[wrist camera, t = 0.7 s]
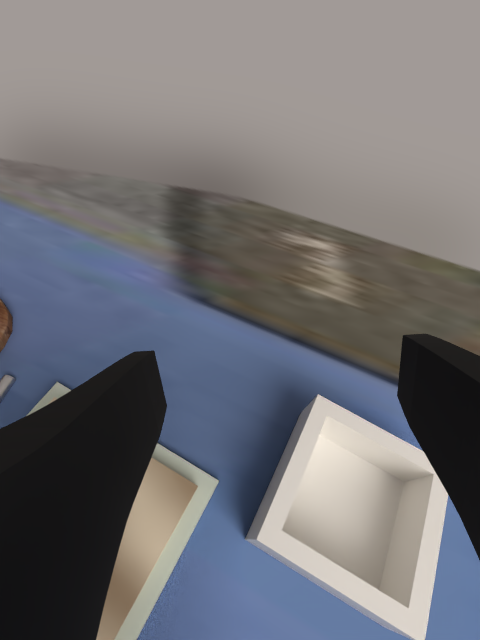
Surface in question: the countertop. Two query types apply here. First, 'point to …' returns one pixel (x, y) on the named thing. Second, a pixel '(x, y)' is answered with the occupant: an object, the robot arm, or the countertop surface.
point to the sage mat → (178, 539)
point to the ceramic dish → (356, 516)
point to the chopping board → (3, 328)
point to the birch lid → (143, 540)
